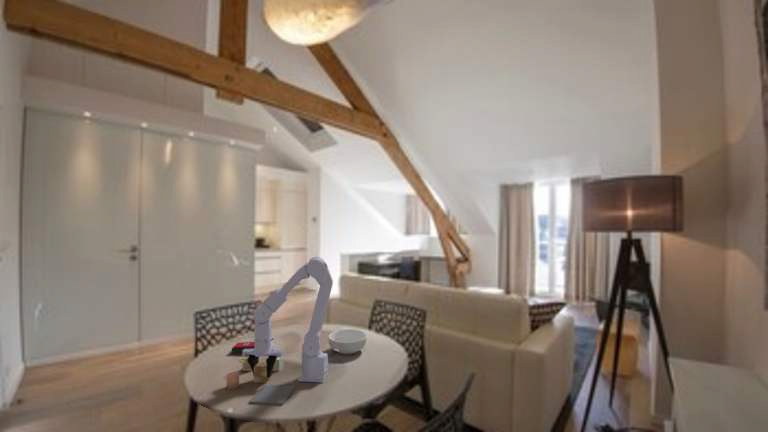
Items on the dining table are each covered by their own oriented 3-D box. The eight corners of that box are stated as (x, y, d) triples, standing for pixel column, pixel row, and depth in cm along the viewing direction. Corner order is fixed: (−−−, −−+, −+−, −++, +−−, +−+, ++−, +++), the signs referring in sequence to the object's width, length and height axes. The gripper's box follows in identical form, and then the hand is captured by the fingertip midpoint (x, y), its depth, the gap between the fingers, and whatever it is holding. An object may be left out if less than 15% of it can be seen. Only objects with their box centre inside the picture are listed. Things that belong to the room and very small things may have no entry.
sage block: (283, 366, 137) (283, 355, 137) (279, 371, 132) (279, 359, 132) (272, 366, 137) (272, 355, 137) (268, 370, 133) (268, 359, 133)
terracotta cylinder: (241, 384, 121) (241, 372, 121) (235, 390, 117) (235, 377, 117) (230, 384, 122) (230, 371, 122) (224, 389, 118) (224, 376, 118)
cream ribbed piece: (261, 368, 135) (262, 354, 135) (239, 374, 130) (239, 360, 130) (258, 365, 138) (258, 351, 138) (236, 370, 133) (236, 356, 133)
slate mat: (294, 388, 119) (294, 386, 119) (282, 405, 108) (282, 403, 108) (263, 386, 120) (263, 384, 120) (248, 403, 109) (248, 401, 109)
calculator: (241, 338, 159) (273, 336, 159) (241, 347, 159) (274, 345, 159) (231, 346, 148) (266, 345, 148) (231, 357, 148) (266, 355, 148)
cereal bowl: (320, 352, 151) (320, 336, 151) (345, 341, 165) (345, 326, 165) (349, 362, 141) (350, 344, 141) (373, 349, 155) (374, 333, 155)
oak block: (271, 377, 127) (271, 362, 127) (265, 383, 122) (266, 367, 123) (259, 376, 127) (259, 361, 127) (253, 382, 123) (253, 367, 123)
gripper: (238, 341, 122) (237, 380, 121) (277, 343, 120) (277, 382, 120) (247, 334, 129) (247, 371, 129) (285, 336, 127) (285, 373, 127)
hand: (262, 376), depth 125 cm, fingers closed on oak block, 4 cm apart
